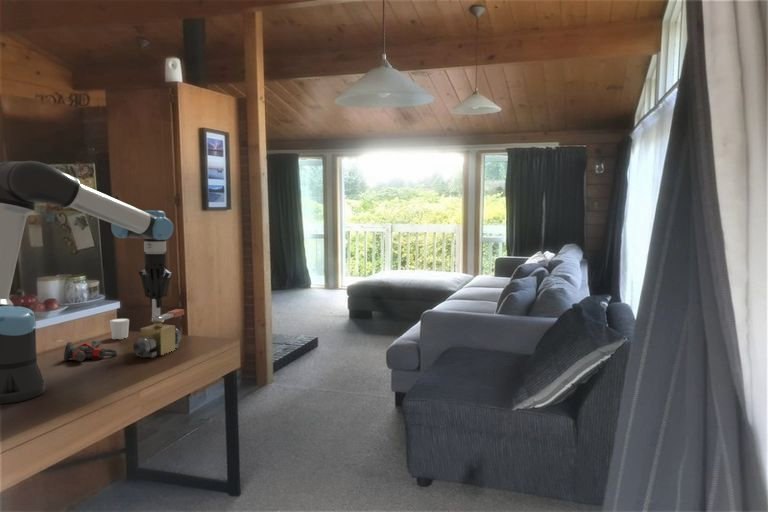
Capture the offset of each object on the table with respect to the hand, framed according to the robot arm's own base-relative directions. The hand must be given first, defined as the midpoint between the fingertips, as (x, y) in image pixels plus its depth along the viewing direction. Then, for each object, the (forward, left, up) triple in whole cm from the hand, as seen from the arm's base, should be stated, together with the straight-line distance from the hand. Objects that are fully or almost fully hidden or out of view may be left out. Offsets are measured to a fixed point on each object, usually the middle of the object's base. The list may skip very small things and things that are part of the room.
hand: (156, 316), depth 205 cm
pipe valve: (-9, -8, -11) cm, 16 cm away
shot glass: (+4, +19, -11) cm, 22 cm away
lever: (-3, -7, 0) cm, 8 cm away
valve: (-18, +11, -11) cm, 24 cm away
